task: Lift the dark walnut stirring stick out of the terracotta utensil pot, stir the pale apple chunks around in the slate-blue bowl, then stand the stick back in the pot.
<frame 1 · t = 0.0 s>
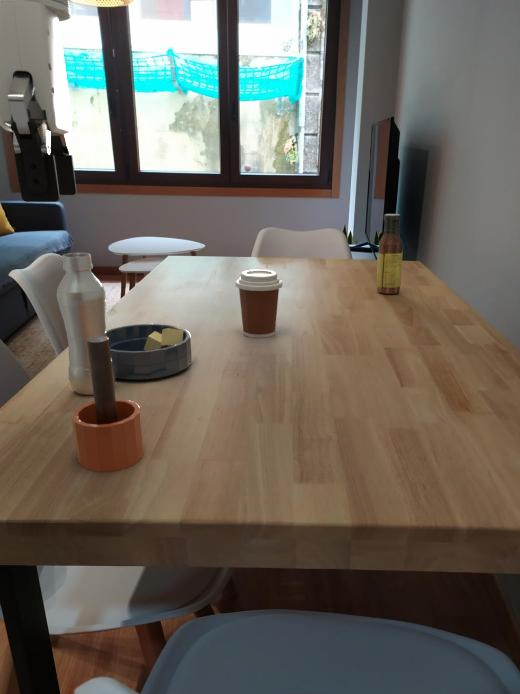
hand: (52, 197, 54), 28 cm above the table, tool pointing down, fingers open, 9 cm apart
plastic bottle: (94, 392, 80), on the table
chunk a: (153, 346, 92), point 2 cm above the table, tilted 89°, touching bowl, chunk b
sauce bottle: (387, 293, 144), on the table
stick: (111, 455, 63), resting on holder
bowl: (145, 365, 91), on the table
coffee cup: (259, 333, 109), on the table
chunk b: (174, 337, 90), point 5 cm above the table, tilted 110°, touching bowl, chunk a
holder: (112, 458, 63), on the table
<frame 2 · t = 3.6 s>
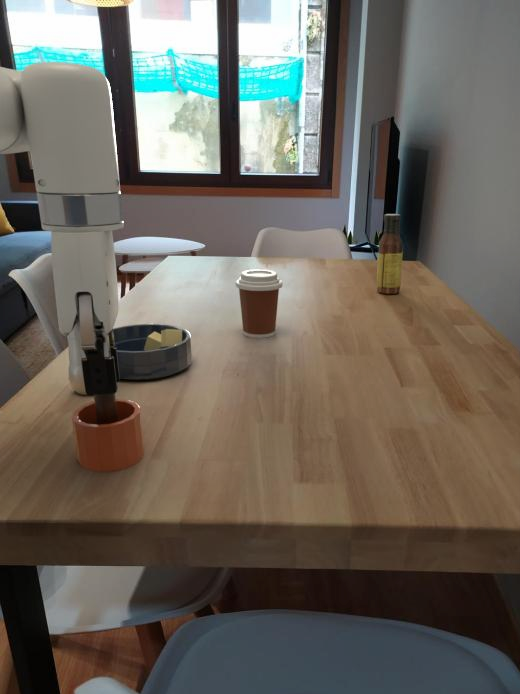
hand: (103, 386, 59), 9 cm above the table, tool pointing down, fingers closed on stick, 2 cm apart
stick: (111, 454, 63), point 1 cm above the table, touching gripper, holder
everything else where it was.
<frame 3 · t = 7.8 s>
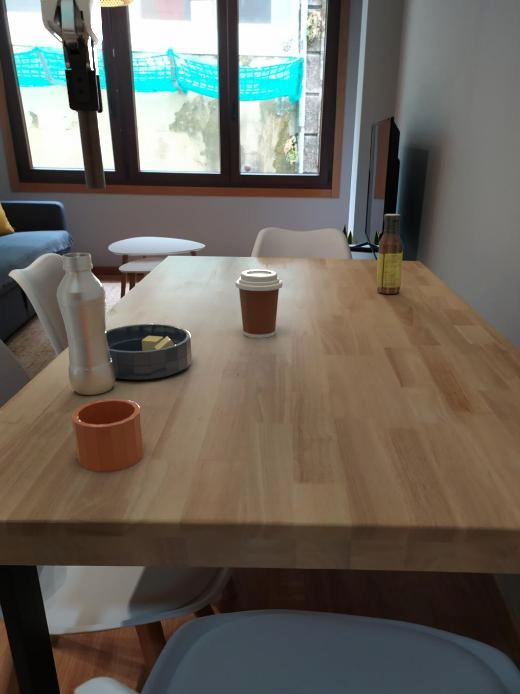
hand: (86, 110, 63), 37 cm above the table, tool pointing down, fingers closed on stick
chunk a: (149, 348, 93), point 2 cm above the table, tilted 90°, touching bowl
stick: (96, 188, 66), point 29 cm above the table, touching gripper
chunk b: (169, 351, 89), point 3 cm above the table, tilted 95°, touching bowl
everything else where it was.
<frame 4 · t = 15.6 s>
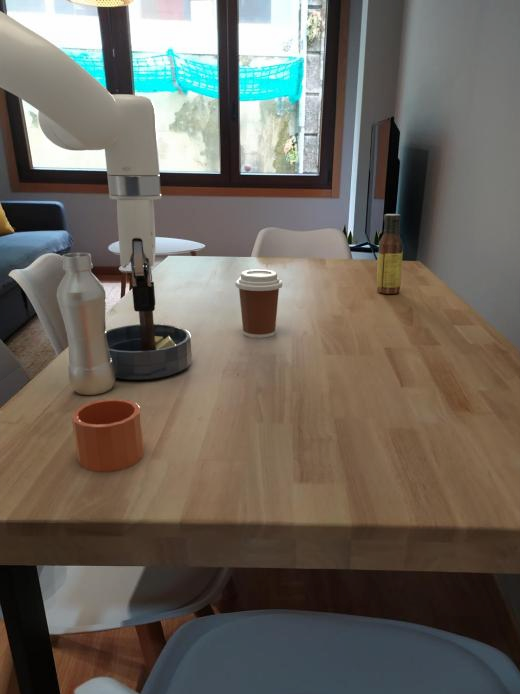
hand: (145, 307, 88), 10 cm above the table, tool pointing down, fingers closed on stick, 2 cm apart
stick: (149, 357, 91), point 1 cm above the table, touching gripper
everything else where it was.
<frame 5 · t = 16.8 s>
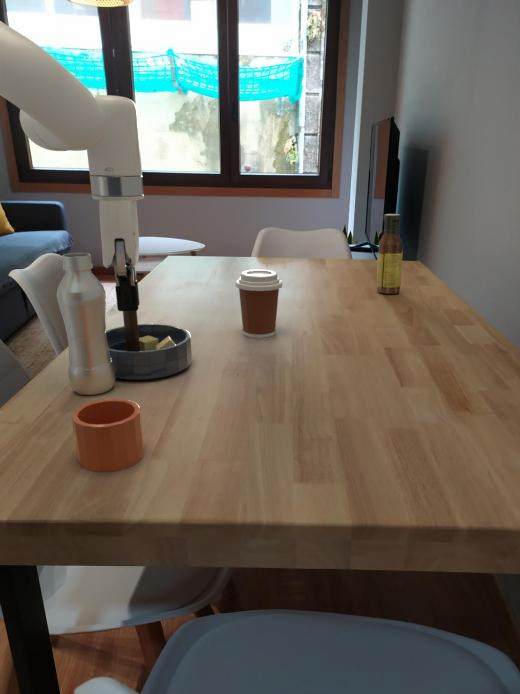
hand: (128, 307, 89), 10 cm above the table, tool pointing down, fingers closed on stick, 2 cm apart
chunk a: (140, 348, 93), point 2 cm above the table, tilted 90°, touching bowl
stick: (133, 356, 92), point 1 cm above the table, touching gripper
everything else where it was.
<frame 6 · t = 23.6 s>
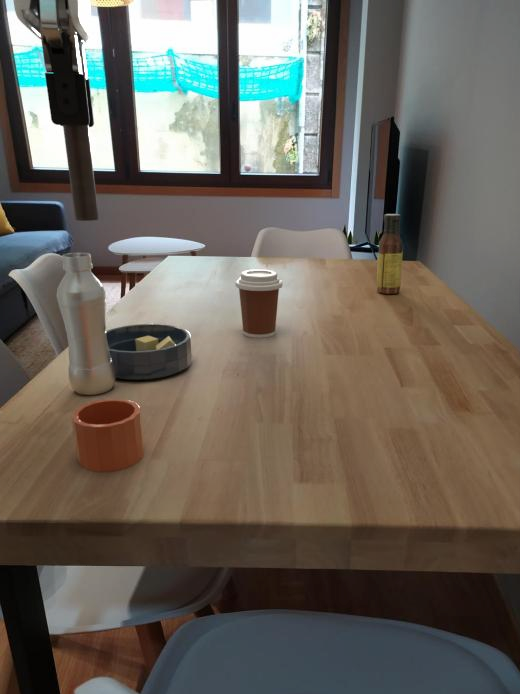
hand: (73, 123, 50), 35 cm above the table, tool pointing down, fingers closed on stick
stick: (86, 219, 53), point 27 cm above the table, touching gripper
everything else where it was.
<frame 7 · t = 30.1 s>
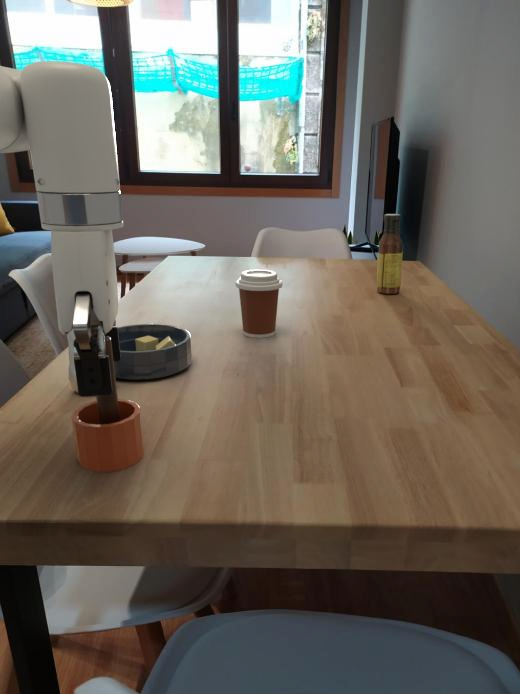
hand: (101, 376, 59), 10 cm above the table, tool pointing down, fingers open, 9 cm apart
stick: (114, 454, 63), resting on holder
everything else where it was.
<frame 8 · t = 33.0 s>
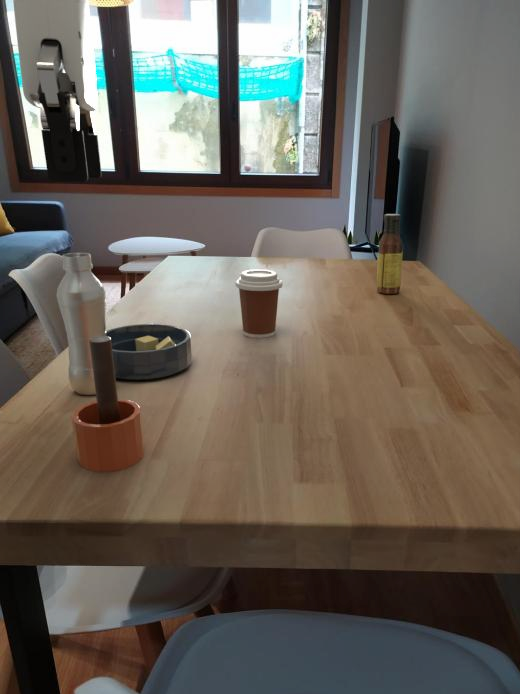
hand: (77, 179, 51), 30 cm above the table, tool pointing down, fingers open, 9 cm apart
nothing on the table moved.
at the end: chunk a moved 2.3 cm from its start; chunk a inside the target area in the bowl (3.2 cm from its centre), point 2.0 cm above the bowl's base; stick 0.2 cm off-centre in the holder, point 0.5 cm above the holder's base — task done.
